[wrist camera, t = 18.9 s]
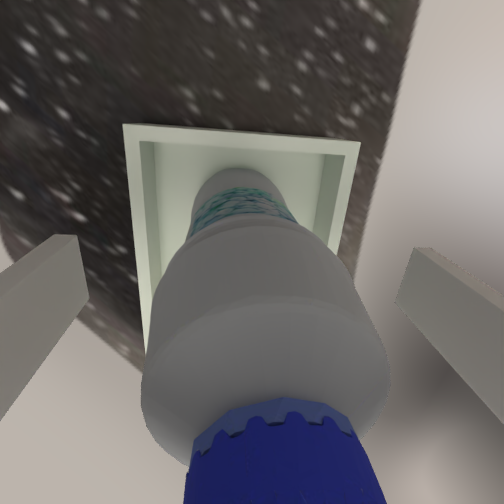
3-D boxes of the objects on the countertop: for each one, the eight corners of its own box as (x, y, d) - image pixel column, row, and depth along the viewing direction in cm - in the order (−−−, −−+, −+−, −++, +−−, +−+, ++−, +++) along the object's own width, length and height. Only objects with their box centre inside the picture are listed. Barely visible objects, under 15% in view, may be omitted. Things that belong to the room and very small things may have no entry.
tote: (141, 122, 19) (122, 123, 16) (336, 138, 21) (360, 142, 17) (157, 331, 27) (146, 366, 23) (301, 331, 28) (313, 364, 24)
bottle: (180, 229, 22) (-13, 729, 4) (211, 143, 20) (92, 429, 2) (259, 258, 24) (372, 705, 6) (297, 183, 21) (694, 538, 3)
